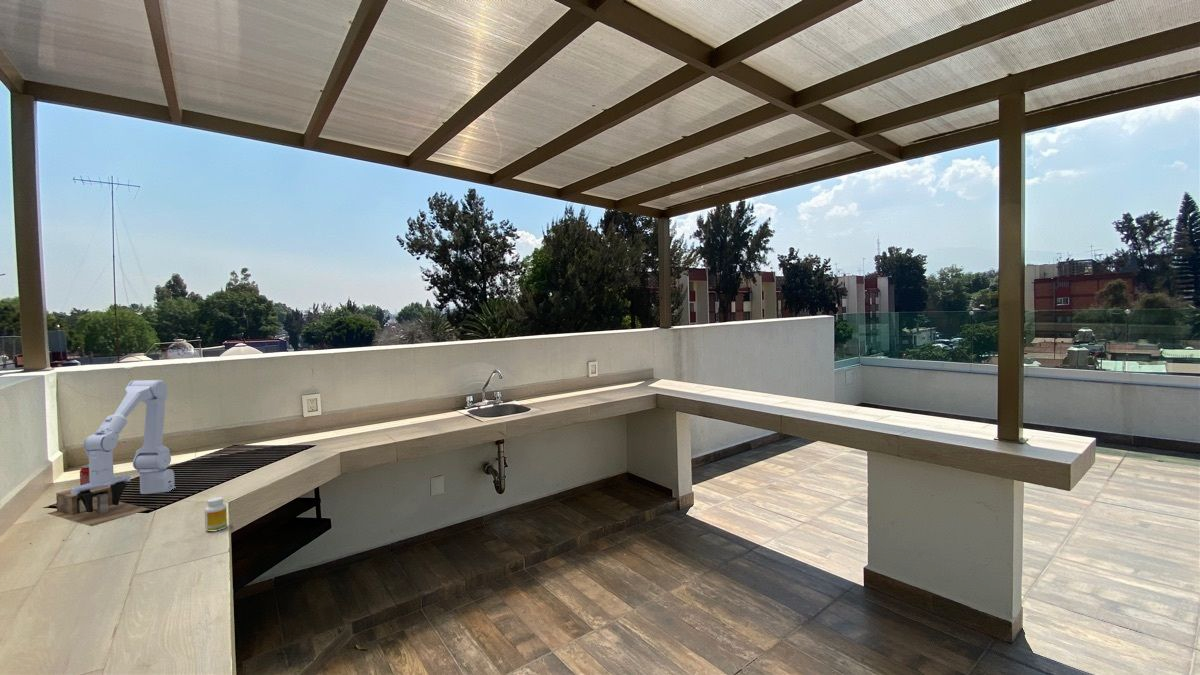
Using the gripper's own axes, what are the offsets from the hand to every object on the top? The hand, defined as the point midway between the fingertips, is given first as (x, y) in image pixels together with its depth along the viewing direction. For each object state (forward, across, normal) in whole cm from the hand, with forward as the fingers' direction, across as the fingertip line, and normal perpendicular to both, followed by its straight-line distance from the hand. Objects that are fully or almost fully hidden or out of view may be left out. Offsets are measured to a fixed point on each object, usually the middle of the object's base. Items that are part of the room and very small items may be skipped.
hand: (102, 508), depth 164 cm
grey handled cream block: (+1, 0, +6) cm, 6 cm away
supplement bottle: (+3, +7, -48) cm, 49 cm away
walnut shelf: (+2, 0, +2) cm, 3 cm away
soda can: (+3, +9, +27) cm, 29 cm away
